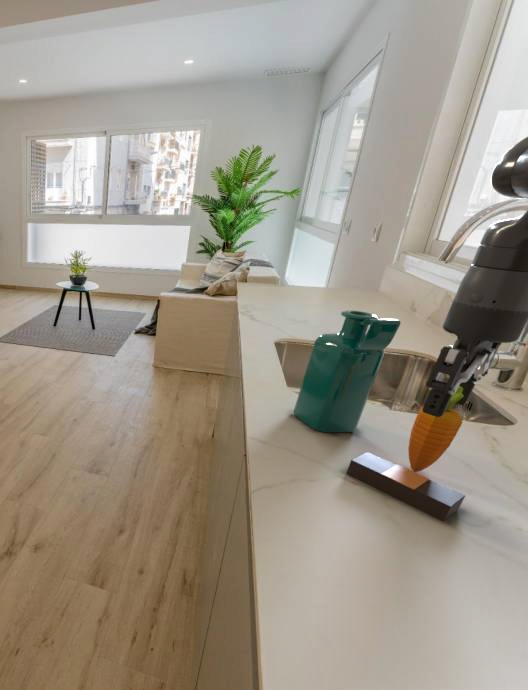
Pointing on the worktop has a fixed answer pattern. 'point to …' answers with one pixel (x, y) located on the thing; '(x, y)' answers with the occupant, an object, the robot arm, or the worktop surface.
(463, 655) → the worktop surface
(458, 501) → the snack bar
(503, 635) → the worktop surface
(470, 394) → the robot arm
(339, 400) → the pitcher
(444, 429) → the carrot
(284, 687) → the worktop surface
